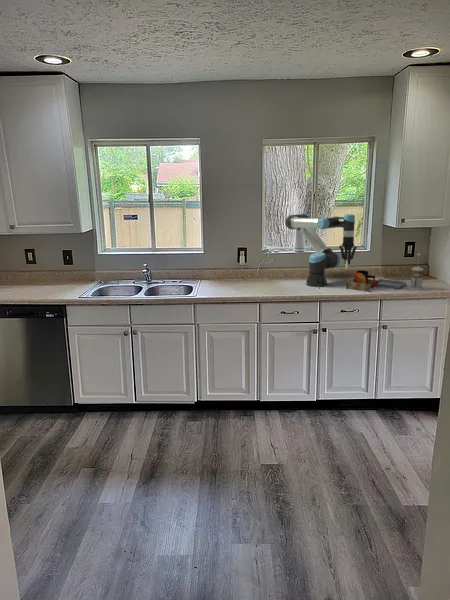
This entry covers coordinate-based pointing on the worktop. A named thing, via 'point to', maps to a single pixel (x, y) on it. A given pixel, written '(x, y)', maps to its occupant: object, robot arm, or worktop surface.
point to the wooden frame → (361, 285)
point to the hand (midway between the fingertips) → (347, 268)
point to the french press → (416, 278)
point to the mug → (363, 277)
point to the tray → (391, 283)
